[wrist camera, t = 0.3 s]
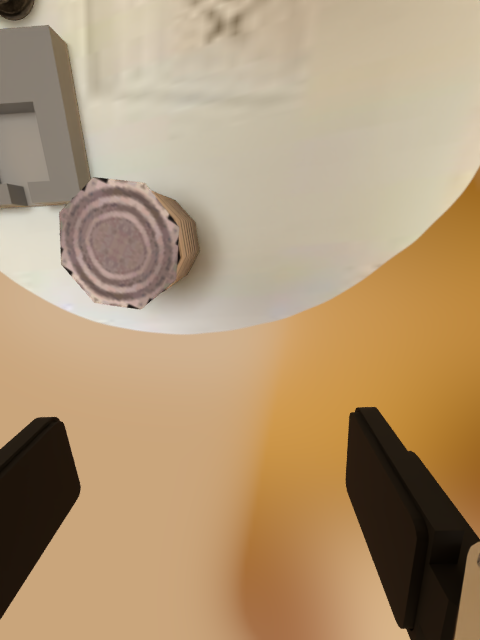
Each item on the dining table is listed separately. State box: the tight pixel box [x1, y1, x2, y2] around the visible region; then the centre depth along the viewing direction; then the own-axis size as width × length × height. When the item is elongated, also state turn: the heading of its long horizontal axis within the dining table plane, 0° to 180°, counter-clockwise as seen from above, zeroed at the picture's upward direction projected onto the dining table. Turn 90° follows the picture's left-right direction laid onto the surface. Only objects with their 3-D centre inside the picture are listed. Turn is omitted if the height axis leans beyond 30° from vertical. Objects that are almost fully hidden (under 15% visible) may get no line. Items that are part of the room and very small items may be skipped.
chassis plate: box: [0, 25, 91, 208], centre depth 33 cm, size 16×14×3 cm
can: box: [59, 177, 200, 309], centre depth 32 cm, size 11×11×12 cm
